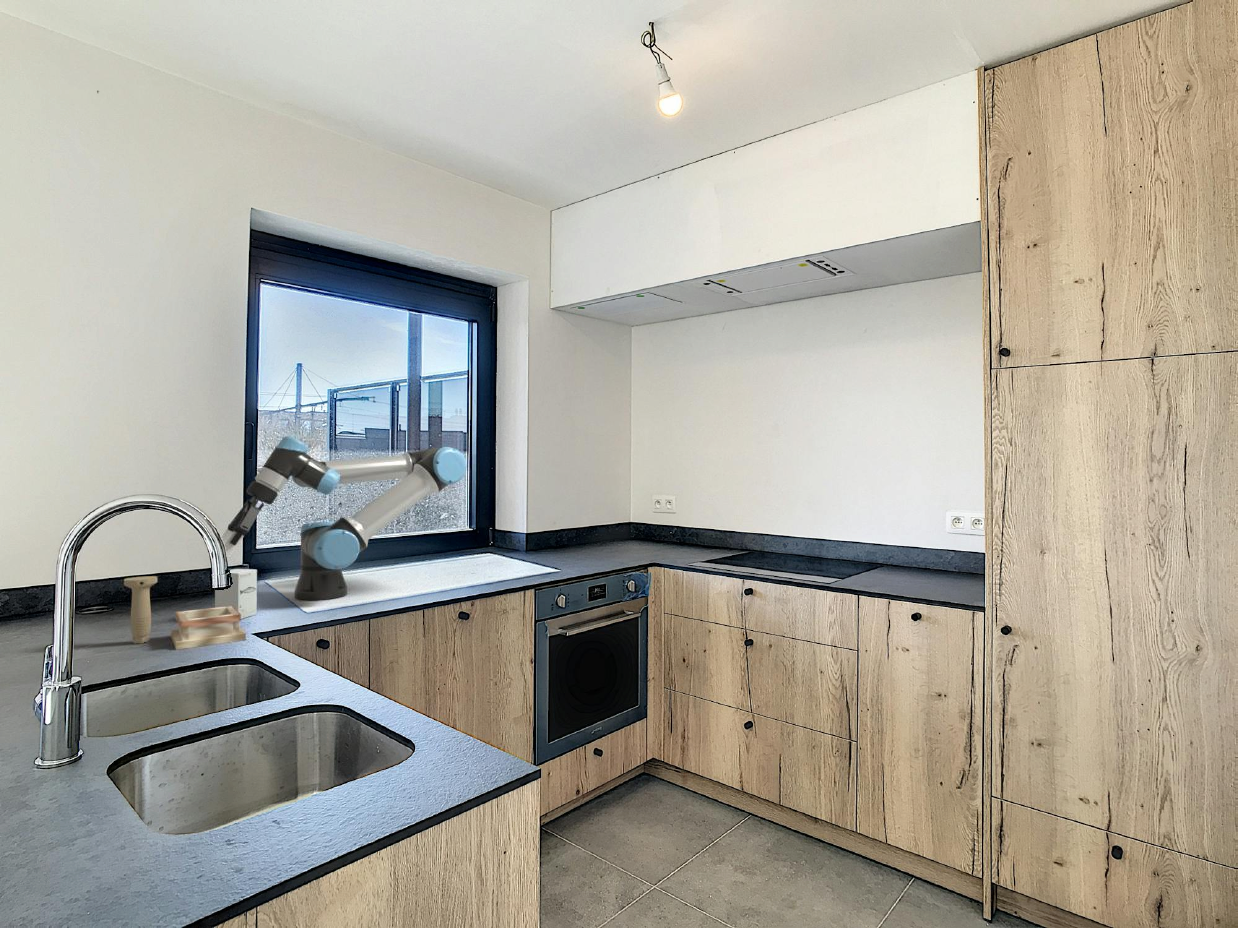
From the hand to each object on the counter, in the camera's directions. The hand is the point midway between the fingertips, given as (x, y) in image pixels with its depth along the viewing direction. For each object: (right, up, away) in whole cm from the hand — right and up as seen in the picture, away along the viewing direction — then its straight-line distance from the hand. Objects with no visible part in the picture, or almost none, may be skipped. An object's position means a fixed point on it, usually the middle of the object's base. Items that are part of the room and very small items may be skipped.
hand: (220, 553), depth 188 cm
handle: (-4, -18, -26) cm, 32 cm away
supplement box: (+4, -17, 0) cm, 18 cm away
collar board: (+10, -17, -22) cm, 30 cm away
